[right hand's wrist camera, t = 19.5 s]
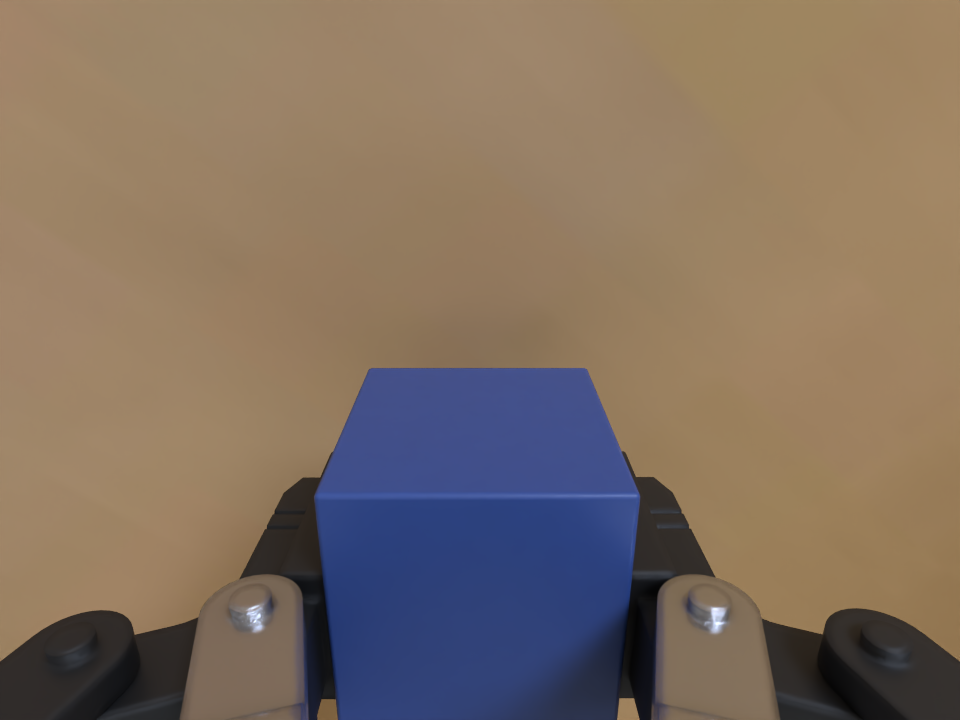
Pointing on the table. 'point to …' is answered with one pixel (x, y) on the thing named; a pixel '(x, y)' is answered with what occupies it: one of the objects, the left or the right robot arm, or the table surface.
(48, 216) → the table surface
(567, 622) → the block
